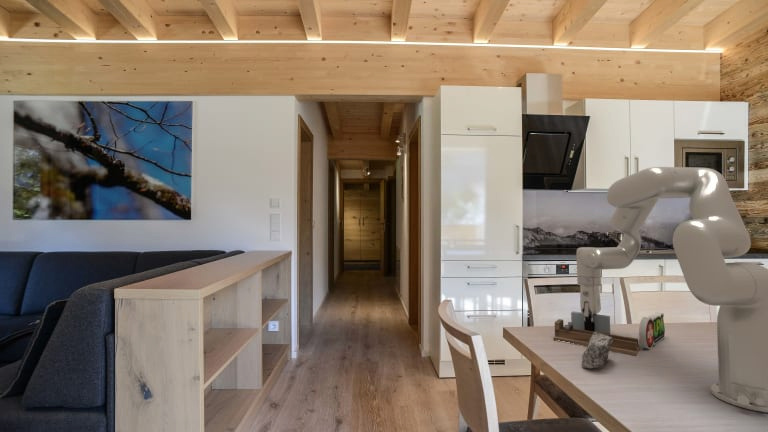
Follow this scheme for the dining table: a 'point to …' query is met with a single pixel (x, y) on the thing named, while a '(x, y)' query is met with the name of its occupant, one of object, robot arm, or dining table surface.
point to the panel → (600, 321)
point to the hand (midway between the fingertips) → (590, 331)
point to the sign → (651, 330)
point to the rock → (596, 351)
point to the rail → (583, 336)
